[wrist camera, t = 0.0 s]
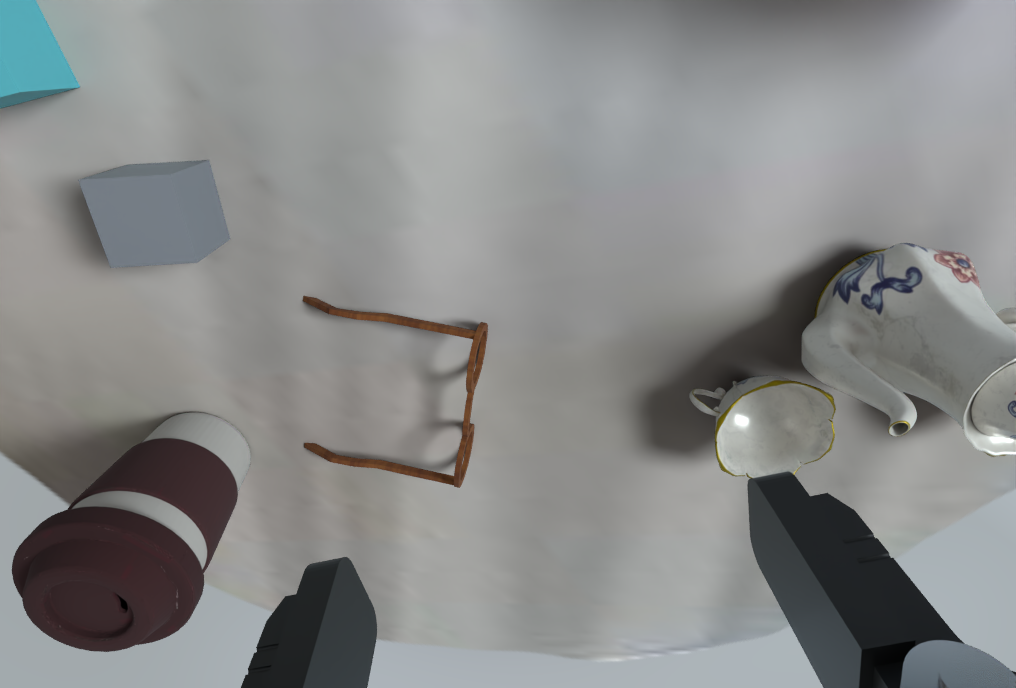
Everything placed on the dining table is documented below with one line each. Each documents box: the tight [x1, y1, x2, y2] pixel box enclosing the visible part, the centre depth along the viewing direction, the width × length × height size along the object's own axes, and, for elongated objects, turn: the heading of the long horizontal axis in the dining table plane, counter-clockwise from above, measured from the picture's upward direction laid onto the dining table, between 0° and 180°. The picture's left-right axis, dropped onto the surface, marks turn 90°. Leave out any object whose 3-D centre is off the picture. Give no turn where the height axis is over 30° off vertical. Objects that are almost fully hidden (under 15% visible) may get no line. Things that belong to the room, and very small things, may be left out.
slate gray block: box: [78, 160, 230, 268], centre depth 35 cm, size 5×5×5 cm
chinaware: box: [690, 243, 1016, 478], centre depth 37 cm, size 28×17×17 cm, turn 102°
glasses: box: [303, 296, 488, 488], centre depth 42 cm, size 13×13×5 cm
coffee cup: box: [12, 412, 251, 652], centre depth 39 cm, size 10×10×15 cm
